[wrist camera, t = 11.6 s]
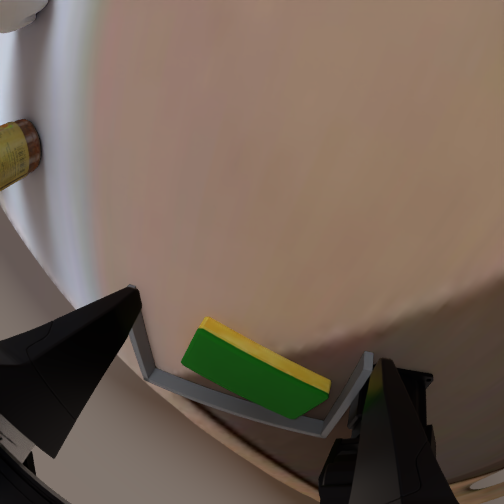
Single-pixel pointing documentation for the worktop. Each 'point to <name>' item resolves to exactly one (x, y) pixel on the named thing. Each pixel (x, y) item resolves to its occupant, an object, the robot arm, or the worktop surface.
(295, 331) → the worktop surface
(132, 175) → the worktop surface
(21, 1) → the water bottle
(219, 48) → the worktop surface
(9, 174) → the sauce bottle
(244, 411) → the box
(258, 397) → the dish sponge
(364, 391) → the robot arm
